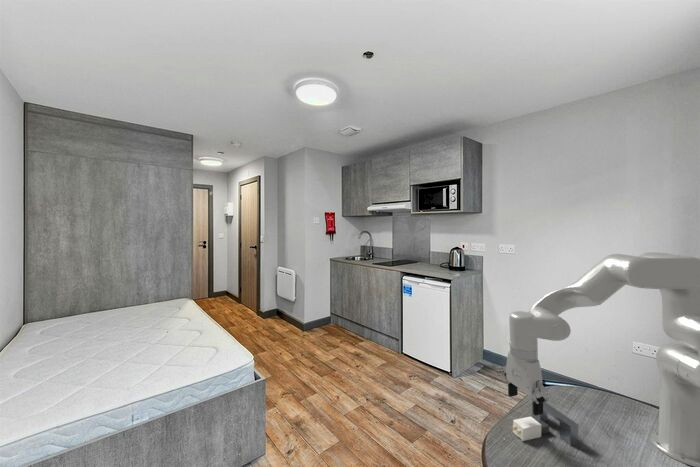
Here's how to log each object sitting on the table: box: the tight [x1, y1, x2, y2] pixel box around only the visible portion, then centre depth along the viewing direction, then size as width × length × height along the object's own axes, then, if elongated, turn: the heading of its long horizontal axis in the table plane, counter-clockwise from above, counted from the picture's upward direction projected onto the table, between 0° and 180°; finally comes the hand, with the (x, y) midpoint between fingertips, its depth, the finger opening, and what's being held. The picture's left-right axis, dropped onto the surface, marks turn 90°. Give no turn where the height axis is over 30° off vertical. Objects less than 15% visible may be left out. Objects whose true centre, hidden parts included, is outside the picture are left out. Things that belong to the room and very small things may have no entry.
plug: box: [512, 415, 550, 442], centre depth 92 cm, size 12×4×4 cm, turn 103°
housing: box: [531, 398, 579, 446], centre depth 94 cm, size 3×14×6 cm, turn 13°
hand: (524, 404), depth 91 cm, fingers open, 9 cm apart
